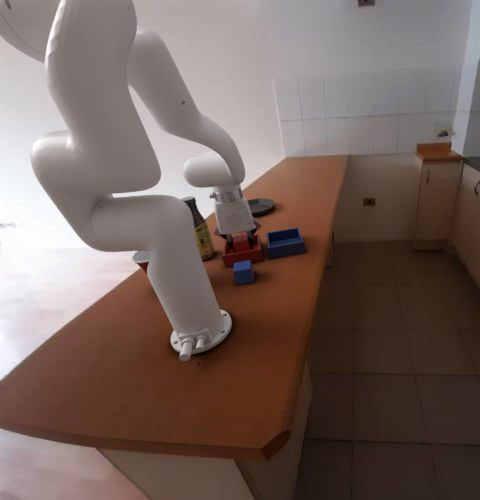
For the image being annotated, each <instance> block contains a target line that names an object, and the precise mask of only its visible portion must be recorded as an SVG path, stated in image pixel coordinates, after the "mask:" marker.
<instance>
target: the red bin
mask: <svg viewBox="0 0 480 500" xmlns="http://www.w3.org/2000/svg"><path fill="white" fill-rule="evenodd" d="M253 241H254V246H253V249H252V250H250V251H244V252H238V253H236V252H235V253H234V252H233V249H231V248H230V245H229V242H228V241H227V240H225V239H224V245H223V249H222V260H223V263H224V267H225V268H229V267H234V263H237V262H242V261H248V260H250V261H251V263H255V262H262V261H263V258H264V257H263V246H262V245H263V244H262V239H261V234H260V233H255V234H254V235H253Z"/></svg>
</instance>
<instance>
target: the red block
mask: <svg viewBox="0 0 480 500" xmlns="http://www.w3.org/2000/svg"><path fill="white" fill-rule="evenodd" d="M232 237H233V245H234V248H235V252H236V253H238V252H244V251H250V250H251V249H250V246H249V242H248V235H247V233H243V234H238V235H233V236H232Z"/></svg>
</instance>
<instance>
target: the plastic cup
mask: <svg viewBox="0 0 480 500" xmlns="http://www.w3.org/2000/svg"><path fill="white" fill-rule="evenodd" d="M150 259H151V254H150V252H148V251H134V253H133V254H132V255H131V256H130V261H131V262H133V263H134V264H136V265H138V267H140V268H141V269H142V271H143V272H144V273H145V274H146V275H147V268H148V264H149V262H150Z"/></svg>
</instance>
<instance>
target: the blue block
mask: <svg viewBox="0 0 480 500" xmlns="http://www.w3.org/2000/svg"><path fill="white" fill-rule="evenodd" d="M232 271H233V276H234V279H235V282H236V285H238V286H239V285H244V284H248V283H254V281H255V279H254V278H255V276H254V275H255V274H254V268H253V266H252V262H251V261H250V260H248V261H242V262H237V263H234V266H233V270H232Z"/></svg>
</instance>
